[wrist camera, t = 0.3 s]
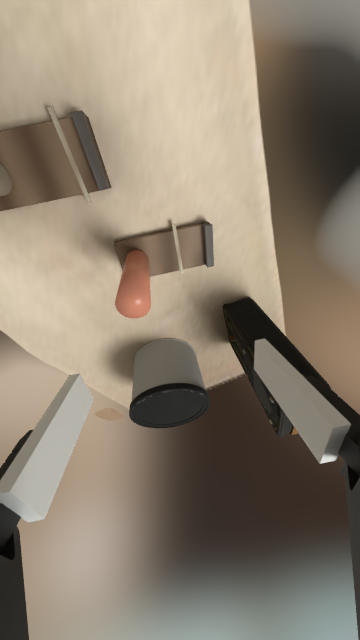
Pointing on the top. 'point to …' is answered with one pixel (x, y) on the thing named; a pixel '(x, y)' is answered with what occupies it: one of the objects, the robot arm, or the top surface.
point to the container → (167, 385)
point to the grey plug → (4, 182)
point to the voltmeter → (243, 330)
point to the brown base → (172, 248)
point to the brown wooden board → (51, 161)
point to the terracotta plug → (134, 286)
